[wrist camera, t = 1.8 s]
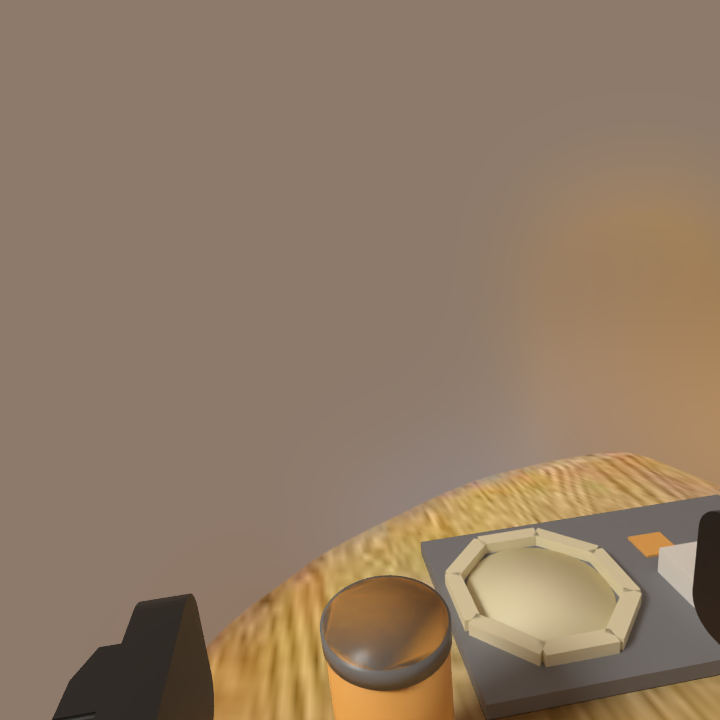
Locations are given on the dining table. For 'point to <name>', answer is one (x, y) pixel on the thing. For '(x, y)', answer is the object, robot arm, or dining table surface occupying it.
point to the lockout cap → (388, 651)
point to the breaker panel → (576, 606)
